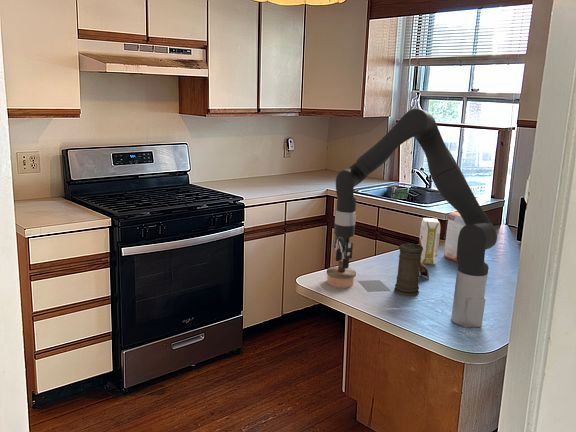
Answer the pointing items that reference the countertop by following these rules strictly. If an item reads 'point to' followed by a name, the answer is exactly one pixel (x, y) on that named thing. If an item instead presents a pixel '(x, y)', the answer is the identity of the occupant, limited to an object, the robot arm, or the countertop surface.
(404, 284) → the container
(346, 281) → the bowl
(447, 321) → the countertop surface
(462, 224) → the cracker box
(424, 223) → the juice carton
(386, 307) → the countertop surface
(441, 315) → the countertop surface
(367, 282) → the mat
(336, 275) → the lid
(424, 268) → the pottery mug
